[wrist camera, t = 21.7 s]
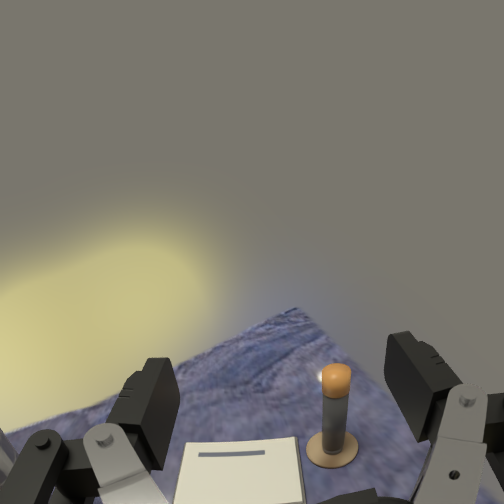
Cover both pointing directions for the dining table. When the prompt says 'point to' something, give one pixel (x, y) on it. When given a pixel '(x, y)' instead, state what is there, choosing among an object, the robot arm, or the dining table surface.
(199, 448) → the notepad
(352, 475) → the dining table surface
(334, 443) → the marker
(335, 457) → the coaster
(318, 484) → the dining table surface
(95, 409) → the dining table surface
